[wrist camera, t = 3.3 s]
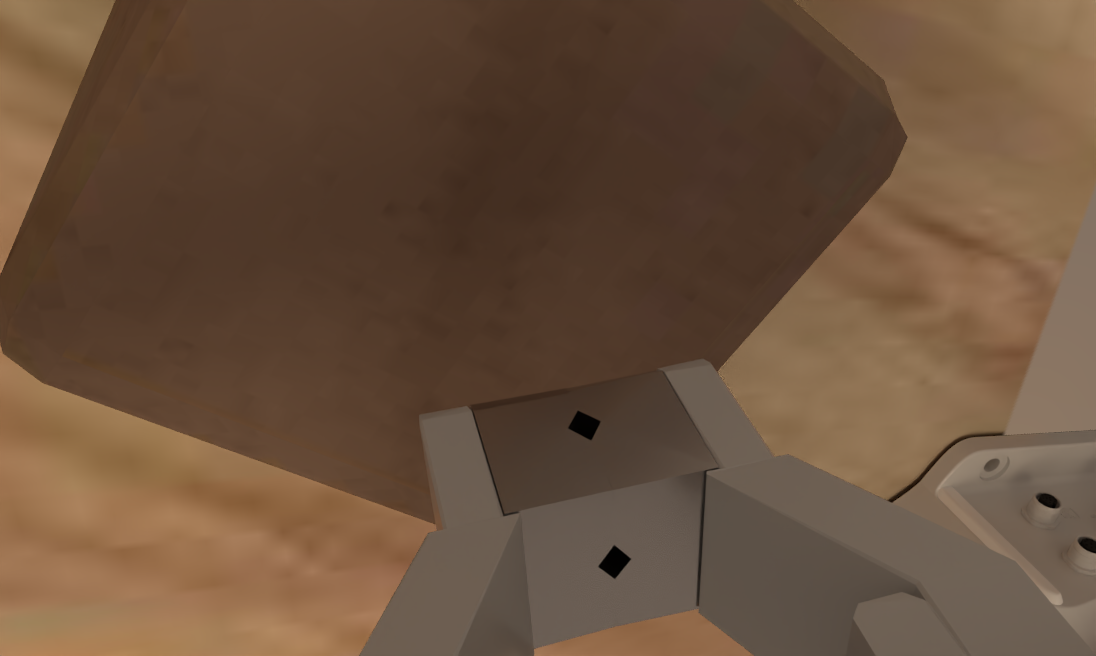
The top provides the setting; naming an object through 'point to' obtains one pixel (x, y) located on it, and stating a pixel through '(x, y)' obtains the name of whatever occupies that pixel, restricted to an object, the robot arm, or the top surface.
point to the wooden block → (426, 210)
